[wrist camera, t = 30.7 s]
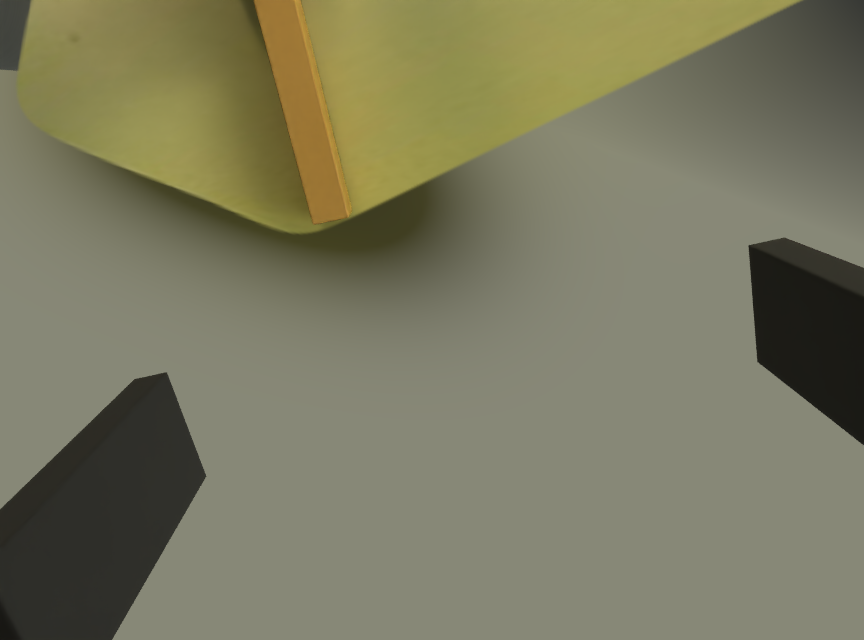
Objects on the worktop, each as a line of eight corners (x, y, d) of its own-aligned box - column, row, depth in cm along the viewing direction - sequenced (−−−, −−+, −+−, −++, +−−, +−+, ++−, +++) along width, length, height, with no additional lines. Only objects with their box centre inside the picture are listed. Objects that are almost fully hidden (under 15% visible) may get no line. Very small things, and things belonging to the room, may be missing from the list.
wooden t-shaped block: (299, 222, 46) (291, 231, 43) (218, -79, 40) (202, -93, 37) (371, 207, 45) (367, 215, 43) (299, -99, 40) (289, -114, 37)
